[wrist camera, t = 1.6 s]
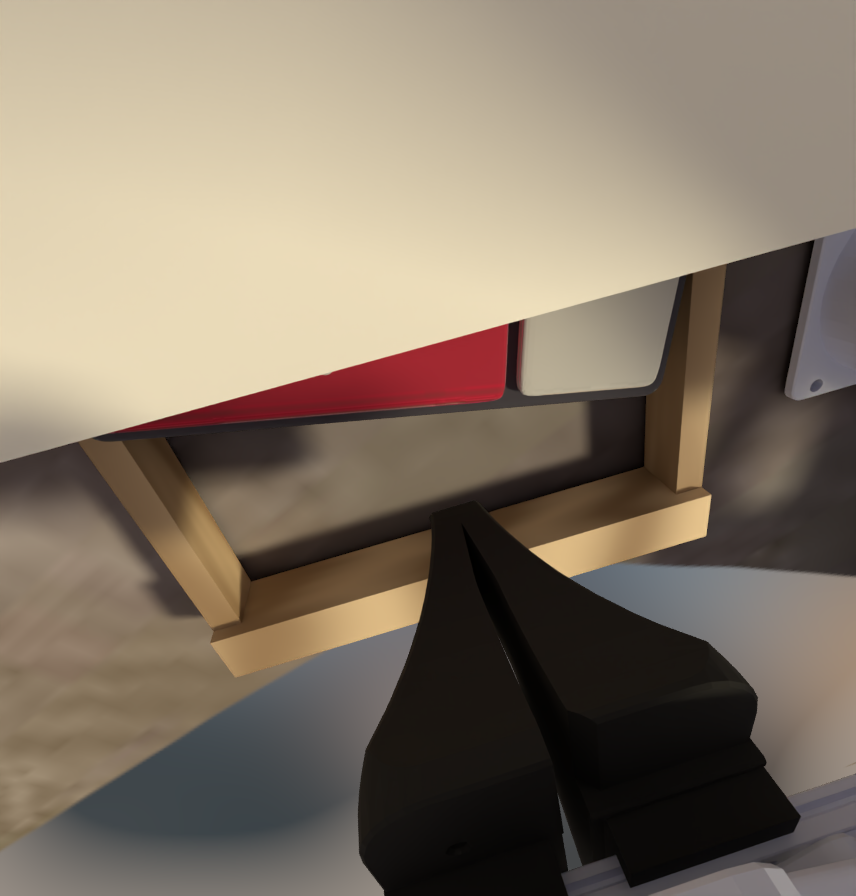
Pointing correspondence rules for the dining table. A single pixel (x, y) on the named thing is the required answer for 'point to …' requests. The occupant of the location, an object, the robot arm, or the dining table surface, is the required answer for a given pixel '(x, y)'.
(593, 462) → the dining table surface
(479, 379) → the calculator
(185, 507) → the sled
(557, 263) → the tunnel
